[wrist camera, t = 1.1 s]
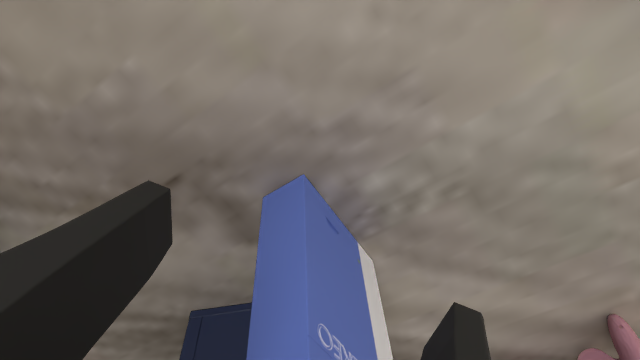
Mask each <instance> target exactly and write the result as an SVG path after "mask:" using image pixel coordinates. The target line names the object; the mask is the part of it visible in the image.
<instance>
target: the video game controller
mask: <svg viewBox="0 0 640 360" xmlns="http://www.w3.org/2000/svg"><path fill="white" fill-rule="evenodd" d="M607 319H608V322H607V323H608V328H609V332H610V335H611V338H612V341H613V343H614V346H615V348H616V350H617V353H618V355H619V359H615V358H612V357H610V356H609V355H607V354H606V353H604V352H603V351H601V350H599V349H595V348H590V349H586V350H584V351H583V352H582V353H580V355H579V356H578V359H577V360H640V339H639V338H638V337H637V335H636V334H635V333H634V331H633V330H632V328H631V327H630V326H629V325H628V323H627V322H626V321H625V320H624V319H623V318H621V317H620V316H618V315H616V314H611V315H609V316H608V318H607Z"/></svg>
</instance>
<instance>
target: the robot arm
mask: <svg viewBox="0 0 640 360" xmlns="http://www.w3.org/2000/svg"><path fill="white" fill-rule="evenodd" d="M171 245H172V220H171V195H170V189H169V188H166V187H164V186H161V185H159V184H156V183H154V182H151V181H149V180H148V181H146V182H144V183H142V184H140V185H138V186H137V187H135V188H133V189H131V190H129V191H127V192H125V193H123V194H121V195H119V196H118V197H116V198H114V199H112V200H110V201H108V202H106V203H104V204H103V205H101V206H99V207H97V208H95V209H93V210H91V211H89V212H87V213H85V214H83V215H81V216H79V217H77V218H75V219H73V220H71V221H69V222H67V223H65V224H63V225H61V226H60V227H57V228H55V229H53V230H51V231H49V232H47V233H45V234H43V235H40V236H38V237H36V238H34V239H32V240H30V241H27V242H25V243H23V244H21V245H19V246H16V247H14V248H12V249H10V250H7V251H5V252H3V253H0V360H82V359H83V358H84V357H85V356H86V354H87V353H88V352H89V350H90V349H91V348H92V347H93V346H94V344H95V343H96V342H97V341H98V340H99V338H100V337H101V336H102V335H103V334H104V332H105V331H106V330H107V329H108V328H109V326H110V325H111V324H112V323H113V322H114V321H115V319H116V318H117V317H118V316H119V315H120V313H121V312H122V311H123V310H124V309H125V307H126V306H127V305H128V304H129V303H130V301H131V300H132V299H133V298H134V297H135V295H136V294H137V293H138V292H139V291H140V289H141V288H142V287H143V286H144V285H145V283H146V282H147V281H148V280H149V278H150V277H151V276H152V274H153V273H154V271H155V270H156V268H157V267H158V265H159V264H160V262H161V261H162V259H163V257H164V256H165V254H166V253H167V251H168V249H169V248H170V246H171ZM421 360H491V357H490V353H489V348H488V342H487V337H486V331H485V326H484V319H483V316H482V314H481V313H480V312H478V311H475V310H473V309H470V308H468V307H465V306H463V305H460V304H458V303H455V302H454V303H453V305H452V306H451V308H450V309H449V311H448V312H447V314H446V315H445V317H444V318H443V320H442V321H441V323H440V324H439V326H438V327H437V329H436V330H435V332H434V333H433V335H432V336H431V338H430V339H429V341H428V342H427V344H426V345H425V347H424V349H423V353H422V357H421Z"/></svg>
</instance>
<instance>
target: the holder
mask: <svg viewBox="0 0 640 360" xmlns="http://www.w3.org/2000/svg"><path fill="white" fill-rule="evenodd" d="M251 310H252V303H247V304H240V305H233V306H225V307H218V308H211V309H204V310H197V311H191V313H190V317H189V322H188V326H187V330H186V335H185V339H184V343H183V347H182V351H181V355H180V359H179V360H246V358H247V348H248V339H249V329H250V319H251Z"/></svg>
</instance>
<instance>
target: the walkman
mask: <svg viewBox="0 0 640 360" xmlns="http://www.w3.org/2000/svg"><path fill="white" fill-rule="evenodd" d="M246 360H393V357H392V352H391V347H390V342H389V337H388V332H387V327H386V322H385V318H384V313H383V308H382V303H381V298H380V293H379V288H378V283H377V278H376V274H375V269H374V264H373V261H372V260H371V259H370V257H369V256H368V255H367V253H366V252H365V251H364V250H363V248H362V247H361V246H360V245H359V243H358V242H357V241H356V240H355V238H354V237H353V236H352V235H351V233H350V232H349V231H348V230H347V228H346V227H345V226H344V225H343V223H342V222H341V221H340V219H339V218H338V217H337V216H336V214H335V213H334V212H333V211H332V209H331V208H330V207H329V206H328V204H327V203H326V202H325V201H324V199H323V198H322V197H321V195H320V194H319V193H318V192H317V190H316V189H315V188H314V187H313V185H312V184H311V183H310V182H309V180H308V179H307V178H306V176H305V175H301V176H300V177H298V178H296V179H294V180H293V181H291V182H289V183H288V184H286V185H284V186H282V187H281V188H279V189H277V190H275V191H274V192H272V193H270V194H268V195H267V196H265V197H263V203H262V213H261V223H260V232H259V242H258V252H257V261H256V271H255V281H254V290H253V300H252V310H251V319H250V329H249V339H248V348H247V358H246Z"/></svg>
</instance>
